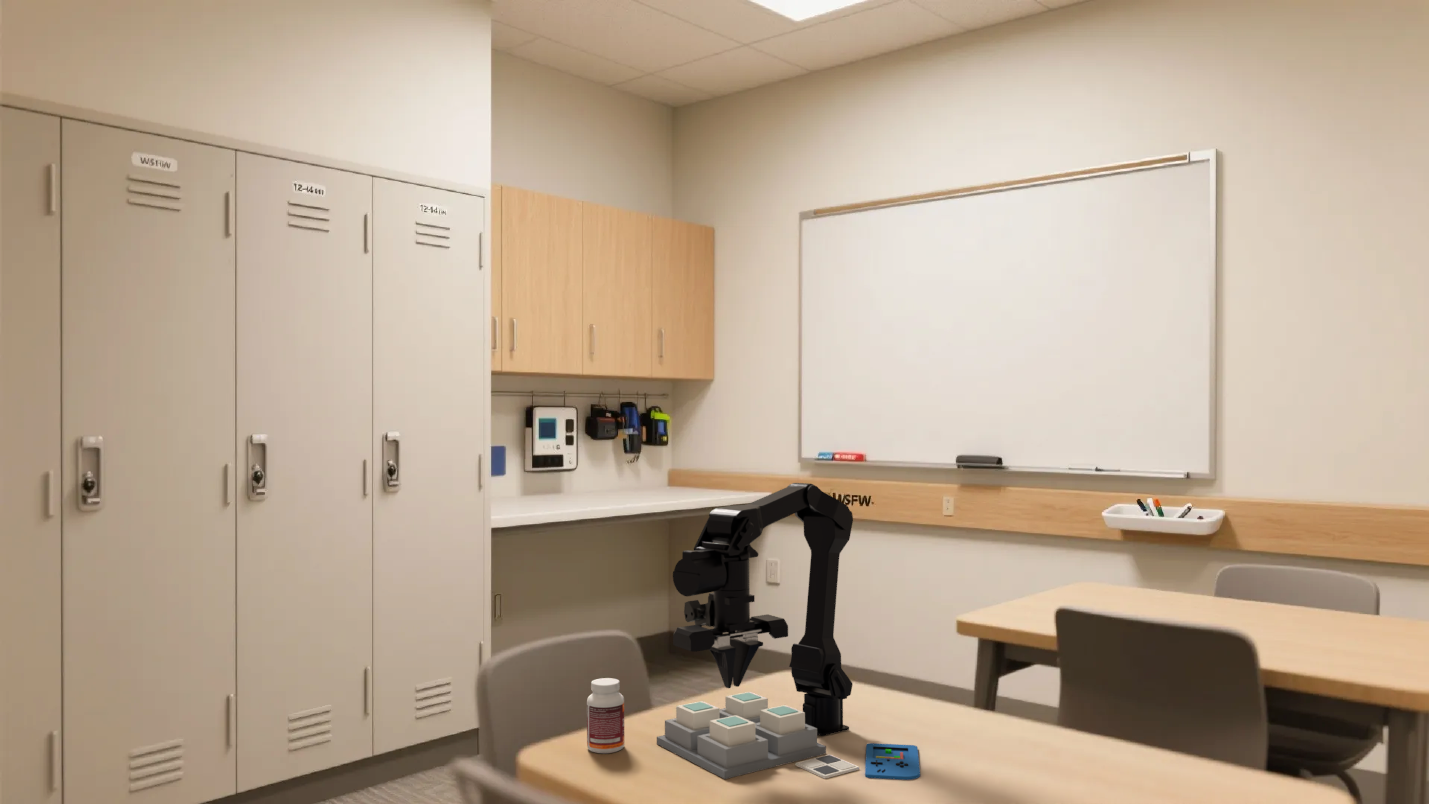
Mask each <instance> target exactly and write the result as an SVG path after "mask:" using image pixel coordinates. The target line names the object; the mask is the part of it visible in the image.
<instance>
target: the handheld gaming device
mask: <svg viewBox="0 0 1429 804" xmlns="http://www.w3.org/2000/svg"><path fill="white" fill-rule="evenodd" d="M865 745H866V747H865V749H866V750H865V767H864V769H865V770H864V777H865V778H866V779H867V778H868V779H879V780H883V779H884V780H899V781H900V780H901V781H910V780H912V781H913V780H916V779H918V778H920V777H921V768H920V759H919V749H918V746H917V745H913V744H895V743H875V742H871V743H870V742H869V743H866V744H865Z"/></svg>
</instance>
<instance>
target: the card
mask: <svg viewBox="0 0 1429 804" xmlns="http://www.w3.org/2000/svg"><path fill="white" fill-rule="evenodd" d="M795 766H797V767H798V768H800V769H802V770H805V771H807V772H809V773H812V774H814V775H816V776H818V777H819V778H823V779H824V780H825V779H828V778H832V777H836V776H839V775H843V774H847V773H850V772H855V771H859V770H860V766H858V765H856V764H853V763H851V762H849V761H846V760H844V759H843V758H842V759H841V758H839V757H837V756H835V755H832V754H824V755H820V756H816V757H812V758H808V759H806V760H805V759H804V760H803V761H801V760H800V761H796V762H795Z"/></svg>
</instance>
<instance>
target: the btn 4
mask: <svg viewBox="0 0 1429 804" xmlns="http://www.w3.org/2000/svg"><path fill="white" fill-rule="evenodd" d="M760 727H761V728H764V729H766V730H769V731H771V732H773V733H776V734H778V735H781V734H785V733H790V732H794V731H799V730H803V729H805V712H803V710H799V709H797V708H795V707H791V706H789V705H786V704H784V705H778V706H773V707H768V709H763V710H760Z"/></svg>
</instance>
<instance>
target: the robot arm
mask: <svg viewBox="0 0 1429 804" xmlns="http://www.w3.org/2000/svg"><path fill="white" fill-rule="evenodd" d="M792 515H794V516H795V517H796V518H797V519H798V520H799V521H801V522H802V523H803V535H804V536H803V537H804V538H805V541H806V543H807V545H808V547H809V550H810V561H809V562H810V564H809V577H808V589H807V601H806V602H807V603H806V613H805V615H806V616H805V629H804V635H803V636H802V637H801V639H800V641H799V642H798V643H793V644H792V646H791V649H790V650H791V657H790V661H789V662H790V663H789V666H788V667H789V668H791V669H790V670H791V671H790V672H791V673H790V674H791V677H792V678H793V682H794V685H795V689H796V692H798V693H804V694H803V698H804V699H803V700H804V701H803V703H802V711H803V712H805V724H807V725H810V726H812V727H815V728H817V736H820V737H823V736H829V735H833V734H838V733H842V732H845V731H849V730H850V726H848V725H846V724H844V700H845V699H847V698H848V697H849V696H851V695H852V688H853V681H852V680H851V679H850V677H849V676H848V675H847V674H846V673H845V671H844V670H843V668H842V653H841V651H840V649H839V647H838V644H837V642H836V640H835V637H834V635H835V634H834V632H835V620H836V618H835V617H836V606H837V605H836V604H837V594H838V593H837V591H838V580H839V579H838V578H839V567H840V564H839V563H840V556H841V553H842V551H843V549H844V548H845V546H846V545H847V543H849V541H850V538H851V533H852V527H853V522H854V516H853V512H852V511H851V510H850V508H849V506H848V505H847V504H846V503H844V502H842V501H840V500H839V499H837V498H835V497H833V496H831V495H829V494H827V493H826V492H824V491H822V490H821V489H820V488H819V487H818V486H817V485H815V484H813V483H809V482H808V483H807V482H805V483H803V482H793V483H791V484H789V485H787V486H786V487H784V488H781V489H780V490H778V491H775V492H773V493H770V494H769V495H766V496H764V497H762V498H759V499H757V500H756V499H755V500H754V501H751V502H749V503H747V504H739V505H738V504H737V505H736V504H735V505H727V506H721V507H716V508H714V509H712V510H711V511H710V512H709V513H708V518H707V520H706V522H705V524H704V527H703V528H702V530H701V532H700V534H699V537H698V539H697V541H696V542H695V545H694V547H693V550H688V549H687V550H683V551H682V552H681V553H682V554H681V555H682V558H681V559H680V560H678V562H677V563H676V564H675V566H674V569H673V571H672V581H673V585H674V587H675V589H676V590H677V592H678V593H679V594H680V595H681V596H684V597H693V596H698V595H704V594H708V596H707V602H706V603H700V601H699V600H698V599H695V600H688V601H686V602H684V606H683V607H684V609H683V610H684V611H683V613H684V614H683V615H684V618H685V619H684V620H685V621H686V622H687V623H693V622H694V624H692V625H685V626H679V627H677V628H676V629H675V630H674V632H673V635H672V640H673V641H672V642H673V643H672V644H673V645H672V646H675V647H677V648H680V649H683V650H686V651H688V652H692V653H693V652H694V653H695V652H701V651H707V650H708V651H709V652H710V653H711V655H712V657H713V658H714V661H715V663H716V666H717V667H718V668H717V669H718V671H719V674H720V677H721V678H722V682H723V685H724V687H725V688H726V689H731V688H732V685H733V686H734V687H737V688H738V687H740V686H741V683H742V681H743V679H744V677H745V675H746V673H747V670H748V668H749V667H750V663H751V662H752V660H753V659H754V656H755V655H756V653H757V651H758V649H759V648H760V647H763V646H764V642H763V641H761V640H759V636H758V635H760V634H767V633H768V635H770V637H771V638H772V639H774V640H776V639H782V638H787V637H789V625H788V623H787V621H786V620H785V618H782V617H780V616H779V617H778V616H775V615H771V614H761V615H756V616H755V615H754V616H751V617H750V615H751V611H750V610H751V609H750V605H751V603H753V602H754V603H755V595H754V594H750V592H751V591H750V590H751V589H750V588H751V587H750V559H752V558H758V557H759V552H758V551H757V550H756V549H755V548H753V547H752V545H751V544H752V543H753V542H754V541H755V540H757V539H758V538H760V537H761V536H762V533H763V530H765V528H767V527H768V526H770V525H771V526H772V524H775V523H776V522H777V523H778V522H779V521H781V520H783V519H785V518H787V517H790V516H792ZM703 626H706V627H711V628H706V627H703ZM712 627H713V628H712ZM732 683H733V684H732Z"/></svg>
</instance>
